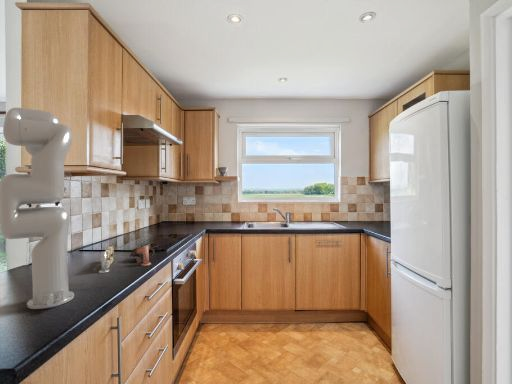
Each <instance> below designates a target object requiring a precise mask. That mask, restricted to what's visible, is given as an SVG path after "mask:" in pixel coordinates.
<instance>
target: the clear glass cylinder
mask: <svg viewBox="0 0 512 384" xmlns="http://www.w3.org/2000/svg"><path fill="white" fill-rule="evenodd" d="M100 256H101V257H100V265H101V269H100V270H98V273H99V274H105V273H109V272H111V270H110V269H109V268H108V269H107V251H106V250H105V251H101V252H100Z"/></svg>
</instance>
